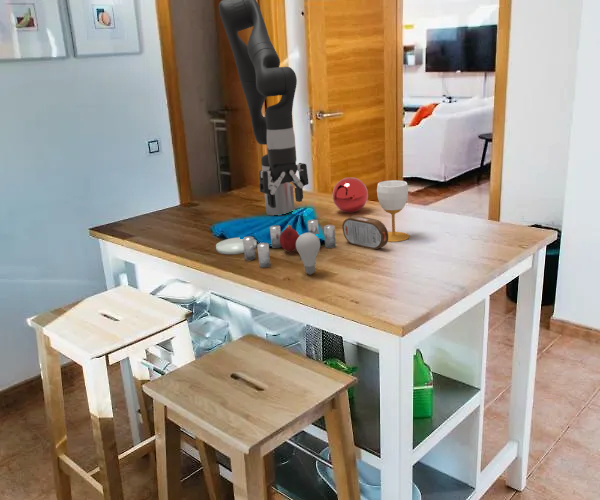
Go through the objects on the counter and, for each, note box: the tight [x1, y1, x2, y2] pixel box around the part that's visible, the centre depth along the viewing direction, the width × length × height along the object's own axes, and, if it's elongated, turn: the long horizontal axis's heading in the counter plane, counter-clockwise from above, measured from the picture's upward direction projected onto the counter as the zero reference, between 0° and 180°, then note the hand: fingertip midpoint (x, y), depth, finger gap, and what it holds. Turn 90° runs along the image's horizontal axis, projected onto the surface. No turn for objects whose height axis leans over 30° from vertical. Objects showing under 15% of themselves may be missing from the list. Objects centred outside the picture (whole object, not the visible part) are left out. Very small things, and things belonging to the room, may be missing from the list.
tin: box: [342, 214, 389, 250], centre depth 169 cm, size 15×3×8 cm, turn 44°
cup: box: [376, 179, 410, 243], centre depth 174 cm, size 9×9×16 cm
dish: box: [215, 237, 258, 255], centre depth 177 cm, size 12×12×1 cm
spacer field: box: [243, 219, 337, 268], centre depth 169 cm, size 25×18×6 cm
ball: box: [332, 177, 369, 214], centre depth 203 cm, size 12×12×12 cm
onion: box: [280, 224, 300, 253], centre depth 169 cm, size 6×6×8 cm
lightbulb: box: [295, 232, 321, 276], centre depth 151 cm, size 6×6×11 cm
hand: (286, 204), depth 165 cm, fingers open, 8 cm apart
